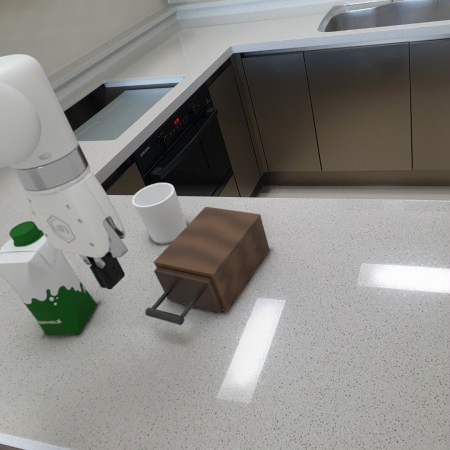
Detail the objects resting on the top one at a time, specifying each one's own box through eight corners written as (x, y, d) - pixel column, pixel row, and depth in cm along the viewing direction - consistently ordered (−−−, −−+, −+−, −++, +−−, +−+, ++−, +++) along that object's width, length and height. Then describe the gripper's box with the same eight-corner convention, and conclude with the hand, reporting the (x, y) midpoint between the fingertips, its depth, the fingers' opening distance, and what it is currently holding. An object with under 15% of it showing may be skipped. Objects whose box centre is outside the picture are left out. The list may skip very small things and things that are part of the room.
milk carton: (104, 300, 88) (53, 217, 76) (81, 339, 81) (21, 254, 69) (63, 302, 89) (7, 221, 77) (37, 340, 82) (-29, 257, 70)
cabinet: (227, 312, 80) (213, 274, 75) (170, 297, 85) (153, 261, 80) (270, 250, 91) (260, 214, 86) (217, 241, 97) (205, 206, 91)
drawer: (198, 343, 74) (183, 313, 70) (144, 327, 79) (128, 298, 75) (261, 254, 90) (252, 224, 85) (213, 245, 94) (202, 217, 90)
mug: (196, 231, 101) (181, 192, 95) (159, 251, 97) (141, 212, 91) (175, 212, 108) (160, 175, 102) (140, 230, 105) (122, 192, 99)
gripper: (-16, 178, 54) (56, 290, 65) (72, 190, 48) (136, 312, 59) (36, 148, 59) (95, 256, 70) (121, 156, 53) (171, 273, 64)
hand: (113, 281), depth 64 cm, fingers closed
